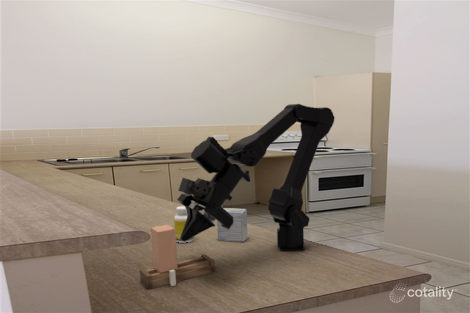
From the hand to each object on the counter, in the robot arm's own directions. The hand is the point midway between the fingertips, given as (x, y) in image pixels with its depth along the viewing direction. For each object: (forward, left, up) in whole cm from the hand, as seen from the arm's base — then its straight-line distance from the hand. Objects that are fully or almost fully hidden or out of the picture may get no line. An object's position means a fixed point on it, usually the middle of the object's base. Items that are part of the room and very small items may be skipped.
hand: (182, 240), depth 92 cm
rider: (+4, +2, -6) cm, 8 cm away
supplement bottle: (+4, -25, -8) cm, 27 cm away
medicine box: (-10, -25, -8) cm, 28 cm away
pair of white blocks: (+3, +2, -8) cm, 9 cm away
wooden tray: (+1, +1, -8) cm, 8 cm away
